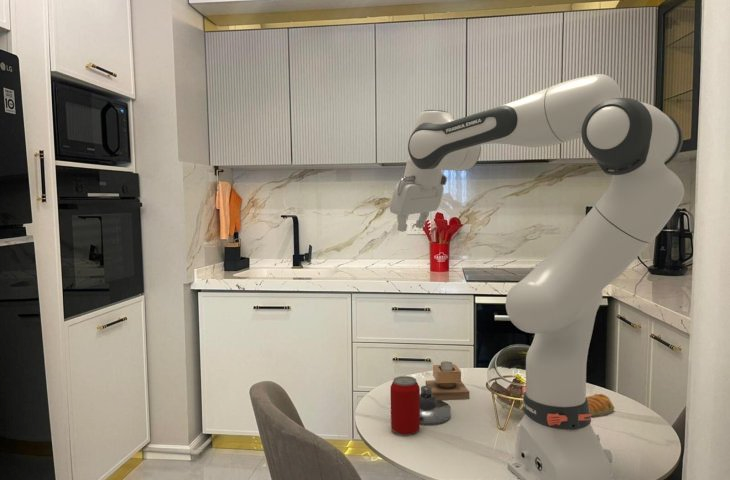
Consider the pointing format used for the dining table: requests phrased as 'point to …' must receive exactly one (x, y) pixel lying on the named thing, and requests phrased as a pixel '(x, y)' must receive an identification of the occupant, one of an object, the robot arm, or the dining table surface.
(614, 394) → the dining table surface
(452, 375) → the wooden square frame
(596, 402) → the pastry
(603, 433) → the dining table surface
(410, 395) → the beverage can
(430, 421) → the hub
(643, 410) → the dining table surface
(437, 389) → the walnut stand
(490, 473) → the dining table surface
